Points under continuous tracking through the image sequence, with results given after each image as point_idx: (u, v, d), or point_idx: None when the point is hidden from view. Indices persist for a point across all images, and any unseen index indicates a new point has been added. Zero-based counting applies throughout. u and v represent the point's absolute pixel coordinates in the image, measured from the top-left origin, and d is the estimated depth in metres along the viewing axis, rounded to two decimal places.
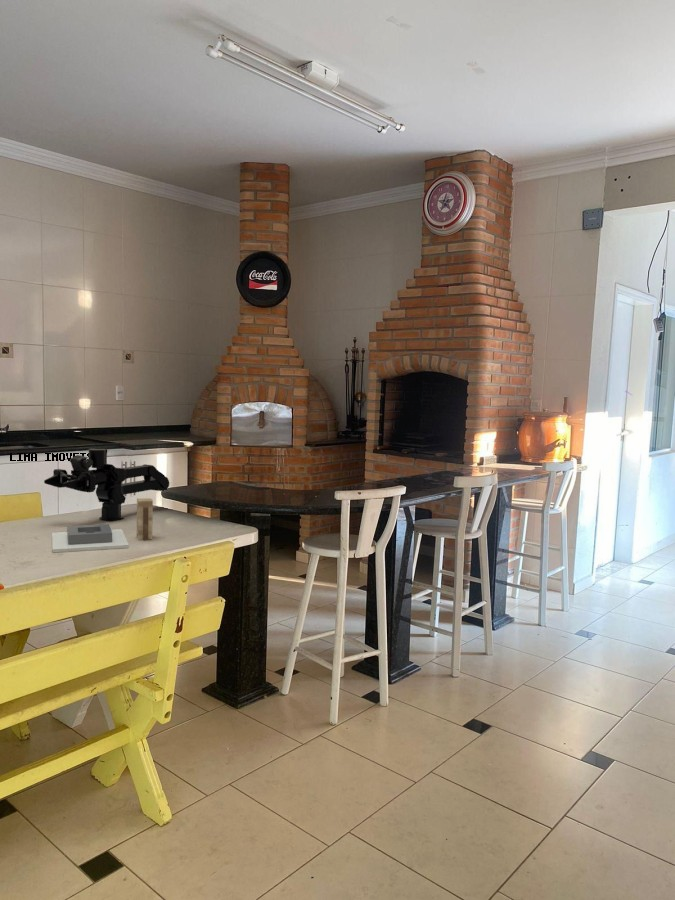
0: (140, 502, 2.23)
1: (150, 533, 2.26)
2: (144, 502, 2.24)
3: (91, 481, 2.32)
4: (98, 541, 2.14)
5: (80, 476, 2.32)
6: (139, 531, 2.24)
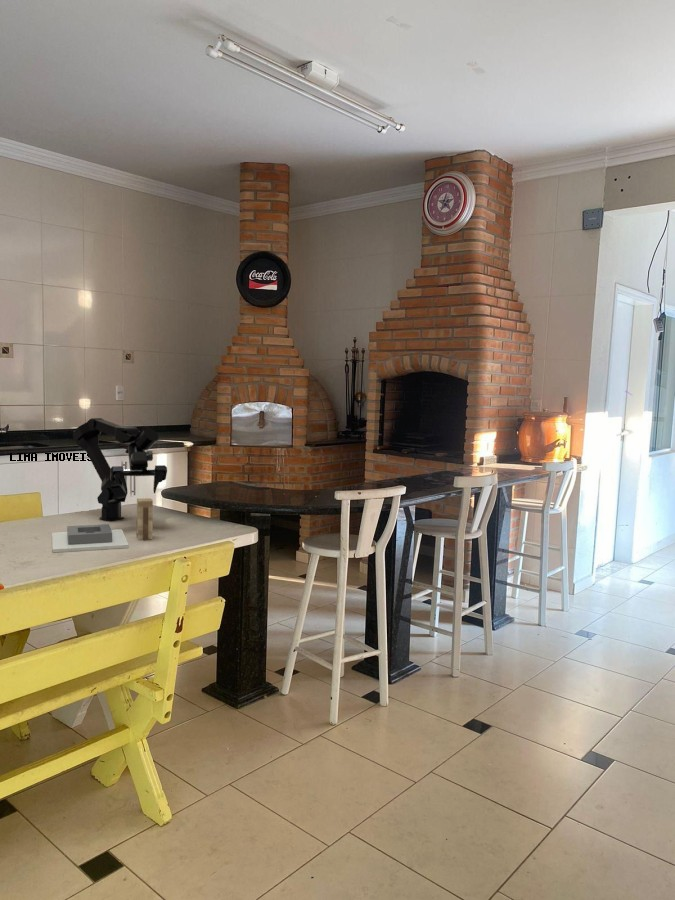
0: (140, 502, 2.23)
1: (150, 533, 2.26)
2: (144, 502, 2.24)
3: (166, 472, 2.40)
4: (98, 541, 2.14)
5: (157, 474, 2.37)
6: (139, 531, 2.24)
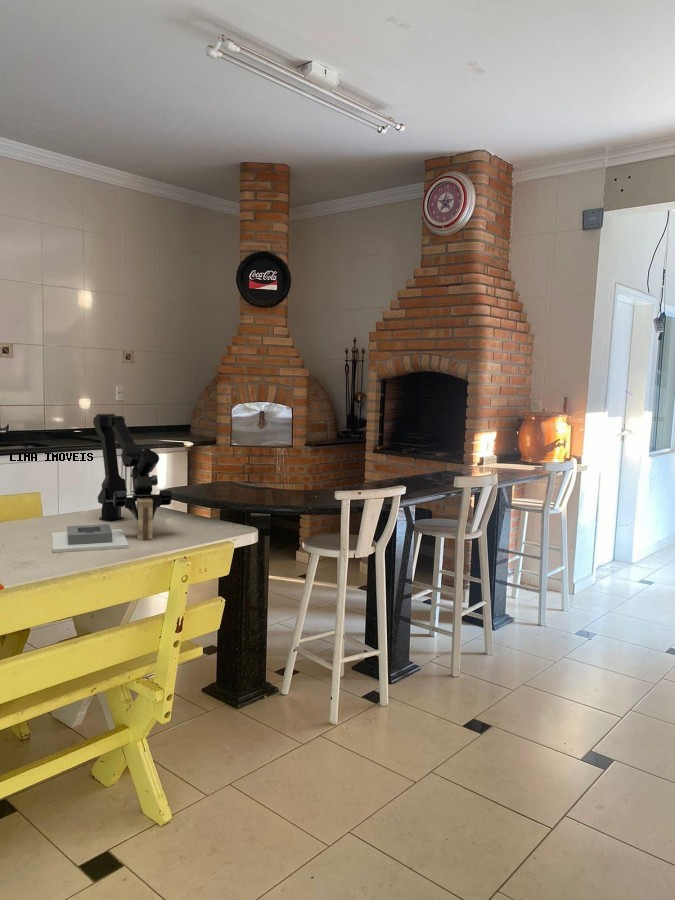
0: (140, 502, 2.23)
1: (150, 533, 2.26)
2: (144, 502, 2.24)
3: (171, 497, 2.33)
4: (98, 541, 2.14)
5: (155, 499, 2.29)
6: (139, 531, 2.24)
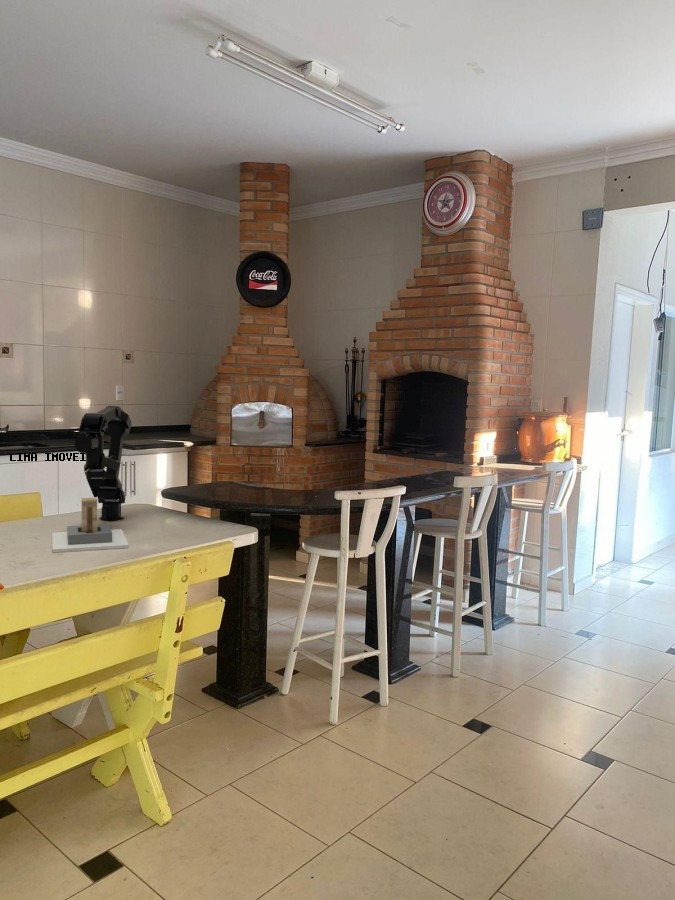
0: (84, 502, 2.15)
1: None
2: (88, 502, 2.16)
3: None
4: (98, 541, 2.14)
5: None
6: None
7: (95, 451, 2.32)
